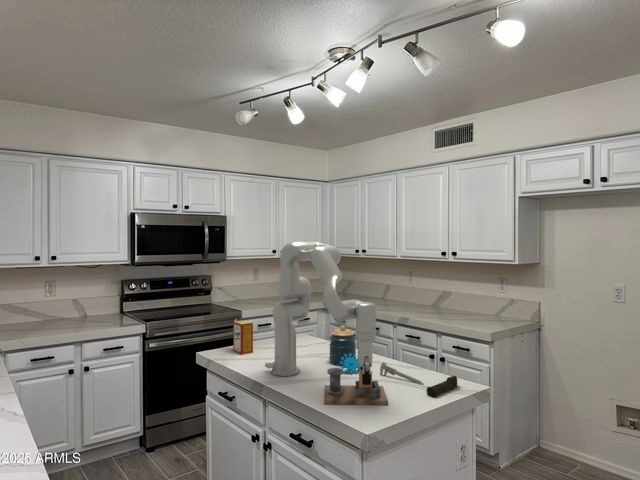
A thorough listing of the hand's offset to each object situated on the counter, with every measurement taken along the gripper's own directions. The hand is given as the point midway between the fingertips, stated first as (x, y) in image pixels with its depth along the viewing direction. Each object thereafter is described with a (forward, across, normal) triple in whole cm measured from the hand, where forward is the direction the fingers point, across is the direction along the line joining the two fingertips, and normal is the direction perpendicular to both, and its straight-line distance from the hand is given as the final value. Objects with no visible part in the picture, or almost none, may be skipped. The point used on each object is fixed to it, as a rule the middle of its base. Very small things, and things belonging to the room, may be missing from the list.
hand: (365, 380), depth 167 cm
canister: (+6, -46, -8) cm, 47 cm away
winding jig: (+6, 0, -4) cm, 7 cm away
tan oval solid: (+5, 0, 0) cm, 5 cm away
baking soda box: (+6, -63, -60) cm, 87 cm away
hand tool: (+7, -8, +31) cm, 33 cm away
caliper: (+7, -21, +17) cm, 28 cm away
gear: (+7, -31, -4) cm, 32 cm away
